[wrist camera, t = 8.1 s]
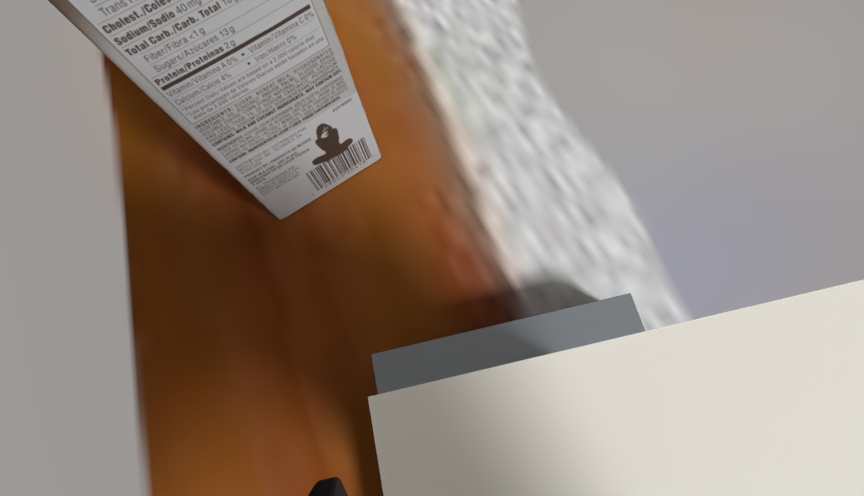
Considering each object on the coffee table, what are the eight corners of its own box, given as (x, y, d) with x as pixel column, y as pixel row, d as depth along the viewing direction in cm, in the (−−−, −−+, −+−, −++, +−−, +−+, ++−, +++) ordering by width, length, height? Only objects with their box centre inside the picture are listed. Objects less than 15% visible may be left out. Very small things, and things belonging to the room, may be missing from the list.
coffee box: (208, 102, 25) (-190, -356, 10) (308, 46, 26) (73, -459, 11) (279, 226, 22) (-141, -167, 7) (390, 158, 23) (221, -329, 8)
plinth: (712, 582, 16) (754, 612, 13) (433, 645, 16) (426, 686, 14) (611, 307, 19) (630, 293, 17) (384, 361, 19) (371, 354, 17)
